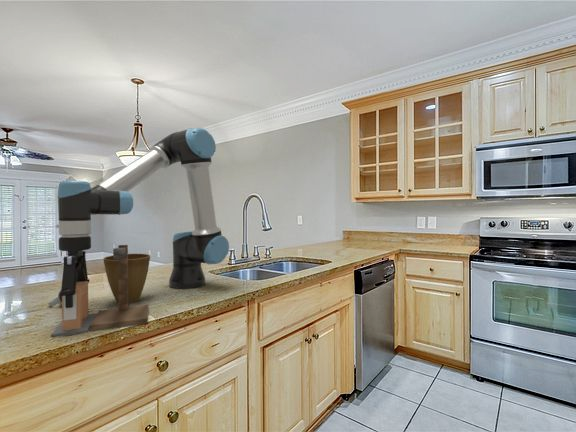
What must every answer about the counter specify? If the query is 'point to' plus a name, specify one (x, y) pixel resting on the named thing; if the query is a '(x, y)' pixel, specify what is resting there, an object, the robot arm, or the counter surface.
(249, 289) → the counter surface
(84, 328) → the mat
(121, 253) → the hook stand
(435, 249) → the counter surface
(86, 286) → the orange notched block
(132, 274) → the plant pot
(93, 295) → the counter surface
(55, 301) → the ceramic mug
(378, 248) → the counter surface
